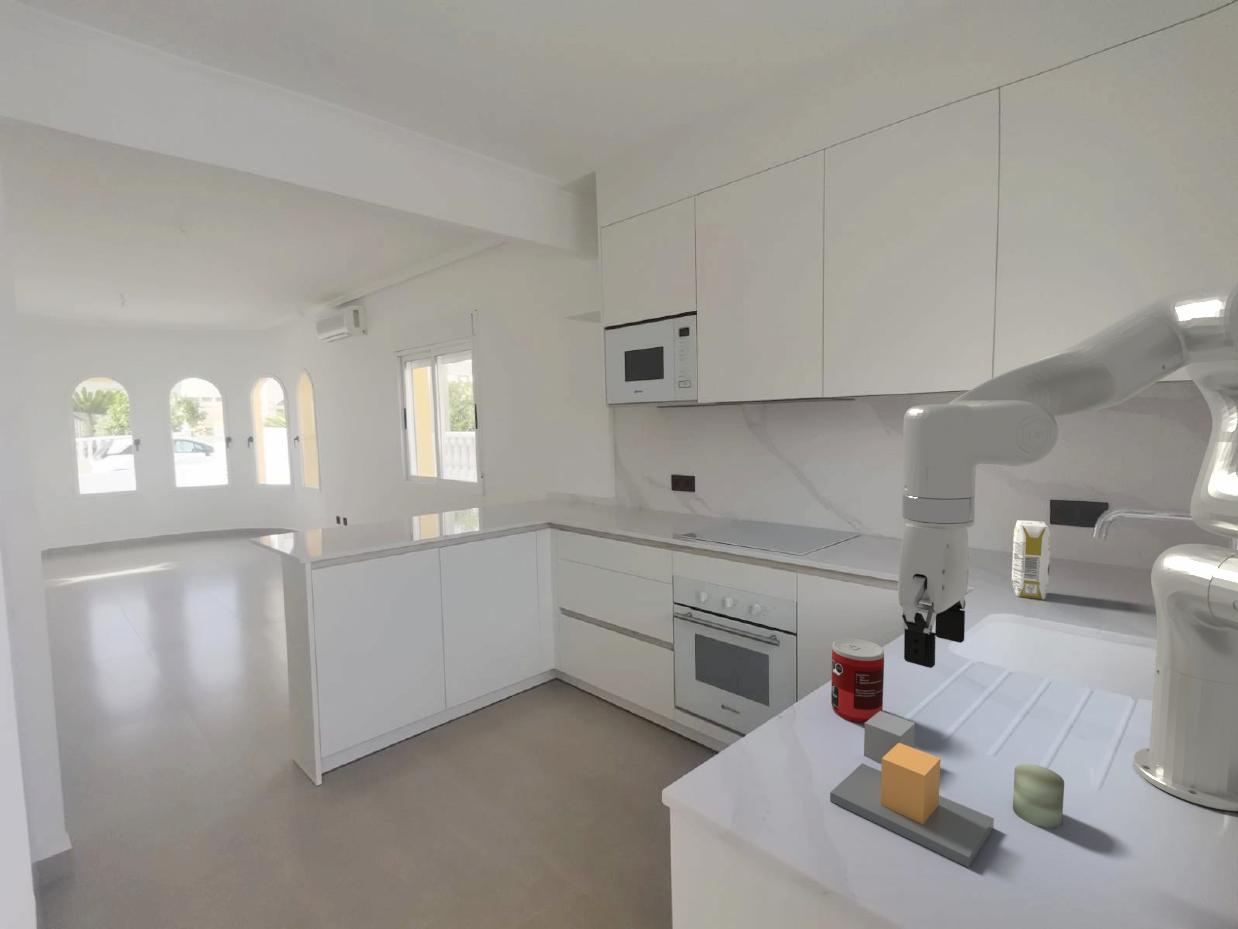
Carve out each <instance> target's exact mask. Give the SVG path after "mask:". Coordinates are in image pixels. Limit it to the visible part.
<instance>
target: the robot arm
mask: <svg viewBox="0 0 1238 929" xmlns="http://www.w3.org/2000/svg"><path fill="white" fill-rule="evenodd" d="M1184 367H1185V371H1186V374H1188V376H1189V377H1190V379H1191V380H1192V382H1193V383H1194V384H1195V385H1196V387H1197V388H1198V390H1199V391H1200V393H1201V394H1202V396H1203V398H1204V400H1205V401H1206V403H1207V406H1208V408H1209V410H1210V413H1211V419H1212V427H1211V432H1210V436H1209V439H1208V440H1209V441H1208V444H1207V447H1206V450H1205V454H1204V457H1203V460H1202V464H1201V466H1200V469H1199V474H1198V476H1197V479H1196V482H1195V485H1194V488H1193V493H1192V495H1191V501H1190V506H1189V507H1190V508H1189V512H1190V518H1191V519H1192V522H1193V523H1194V524H1195V525H1196V526H1197V527H1199V529H1201V530H1203V531H1206V532H1207V533H1208V532H1209V533H1211V534H1213V535H1217V536H1220V537H1221V536H1222V537H1224V538H1225V537H1226V538H1230V539H1235V540H1238V282H1233V283H1227V284H1222V285H1216V286H1211V287H1205V288H1201V289H1199V288H1198V289H1194V290H1188V291H1182V292H1176V293H1171V294H1168V295H1165V296H1161V297H1159V298H1156V299H1154V300H1152V301H1150V302H1148V303H1146V304H1144V305H1142V306H1141V307H1138V308H1136V310H1134V311H1132V312H1130V313H1129V314H1126V315H1125V316H1123V317H1122V318H1120V319H1118V320H1116V321H1115V322H1113V323H1111V324H1110V325H1108V326H1106V327H1105V328H1103V329H1101V330H1100V331H1098V332H1096V333H1094V334H1092V335H1091V336H1088V337H1087V338H1086V339H1083V340H1082V341H1080V342H1078V343H1076V344H1074V345H1072V346H1069V347H1067V348H1065V349H1062V350H1059V351H1056V352H1054V353H1050V354H1049V355H1047V356H1044V357H1042V358H1039V359H1037V360H1034V361H1032V362H1030V363H1027V364H1024V365H1022V366H1019V367H1017V368H1014V369H1011V370H1008V371H1007V372H1004V373H1002V374H999V375H997V376H995V377H993V378H990V379H988V380H987V381H984V382H982V383H980V384H978V385H977V386H975V387H973V388H971V389H970V390H968V391H966V392H965V393H963V394H961V395H959V396H958V397H956V398H954V399H952V400H951V401H950V402H948V403H941V404H940V403H937V404H932V403H931V404H920V405H914V406H910V408H908V409H907V410H906V412H905V413H904V416H903V424H902V426H903V431H902V435H903V436H902V440H903V442H902V507H901V508H902V513H901V515H902V516H901V518H902V519H901V521H902V523H905V524H904V527H903V532H902V538H901V545H900V553H899V566H898V582H897V603H898V604H899V606H900V607H901V608H902V615H901V617H902V620H903V624H902V625H903V626H902V628H903V629H904V630H903V631H904V636H903V637H904V638H903V640H904V641H903V644H904V645H903V650H904V651H903V653H904V654H903V658H904V661H905V662H907V663H910V664H914V665H919V666H922V667H926V668H928V669H931V668H934V667H935V665H936V637H937V638H939V639H942V640H947V641H951V642H955V643H960V644H961V643H963V642H964V641H965V624H966V622H965V621H966V610H965V609H966V599H965V596H966V594H967V592H968V585H969V539H968V538H969V537H968V536H969V535H968V528H971V527H973V526H975V516H976V515H975V513H976V512H975V509H976V472H977V471H976V470H977V468H976V467H977V465H980V464H984V465H999V466H1006V467H1024V466H1029V465H1033V464H1034V463H1037V462H1039V461H1041V460H1043V459H1044V458H1046V457H1047V456H1048V455H1049V454H1050V453H1051V452H1052V451H1053V450H1054V449H1055V446H1056V445H1057V443H1058V440H1059V434H1060V431H1059V429H1060V428H1059V425H1058V422H1057V420H1056V418H1058V417H1066V416H1071V415H1072V416H1074V415H1080V414H1086V413H1091V412H1094V411H1096V412H1097V411H1098V410H1102V409H1107V408H1110V407H1115V406H1117V405H1120V404H1123V403H1124V402H1126V401H1129V399H1131V398H1133V397H1135V396H1136V395H1138V394H1140V393H1141V392H1143V391H1144V390H1146V389H1147V388H1149V387H1151V386H1152V385H1155V384H1156V383H1157V382H1159V381H1161V380H1162V379H1164V378H1166V377H1168V376H1170V375H1172V374H1173V373H1175V372H1177V371H1178V370H1180V369H1182V368H1184ZM1150 574H1151V575H1150V580H1151V581H1150V582H1151V591H1152V596H1153V600H1154V606H1155V607H1154V608H1155V613H1156V624H1157V625H1156V631H1157V632H1156V651H1155V652H1156V653H1155V661H1154V662H1155V663H1154V679H1153V680H1154V681H1153V693H1152V708H1151V718H1150V719H1151V721H1150V733H1149V734H1150V736H1149V747H1146V748H1142V749H1139V750H1137V751H1136V752H1135V753H1134V754H1133V759H1132V761H1133V762H1132V764H1133V767H1134V769H1135V770H1136V772H1137V773H1138V774H1139V775H1140V776H1141V777H1142V778H1144V780H1146V781H1147V782H1149V783H1150V784H1151V785H1153V786H1154V787H1156V788H1159V789H1160V790H1162V791H1164V792H1166V793H1169V794H1170V795H1173V796H1174V797H1177V798H1180V799H1182V800H1185V801H1186V802H1187V801H1188V802H1191V803H1193V804H1197V805H1199V806H1203V807H1207V808H1211V809H1217V810H1222V811H1228V812H1238V549H1234V548H1229V547H1223V546H1219V545H1213V544H1212V545H1211V544H1205V543H1182V544H1177V545H1175V546H1174V545H1173V546H1171V547H1169V548H1167V549H1165V550H1164V551H1163V552H1161V553H1160V554H1159V555H1158V557H1157V558H1156V559H1155V561H1154V563H1153V565H1152V569H1151V573H1150ZM922 613H924V614H926V617H925V618H924V616H923V614H922ZM934 626H935V632H933V629H934Z"/></svg>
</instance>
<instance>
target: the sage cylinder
mask: <svg viewBox="0 0 1238 929" xmlns="http://www.w3.org/2000/svg"><path fill="white" fill-rule="evenodd" d="M1013 773H1014V776H1013V798H1012V809H1013V812H1014V814H1015V815H1016V816H1017V817H1018V818H1020V819H1021V820H1023V821H1024V822H1026V823H1029V824H1031V825H1033V826H1035V827H1039V828H1043V829H1044V828H1045V829H1056V828H1057V829H1058V828H1059V827H1060V826H1062V824H1063V815H1064V814H1063V813H1064V795H1065V780H1064V779H1063V777H1062V776H1061V775H1059V774H1058V773H1057V772H1055V771H1054V770H1051V769H1049V768H1047V767H1044V766H1041V765H1039V764H1032V763H1021V764H1018V765H1016V766H1015V767H1014V772H1013Z"/></svg>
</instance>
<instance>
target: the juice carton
mask: <svg viewBox="0 0 1238 929" xmlns="http://www.w3.org/2000/svg"><path fill="white" fill-rule="evenodd" d="M1051 535H1052V534H1051V530H1050V527H1049V526H1048V525H1047V524H1046V521H1037V520H1019V519H1018V520H1016V523H1015V526H1014V529H1013V537H1012V538H1013V543H1012V562H1011V565H1012V566H1011V583H1012V588H1013V590H1014V593H1015V594H1014V595H1016V597H1020V598H1029V599H1037V600H1045V599H1046V596H1047V593H1048V590H1049V578H1050V576H1049V575H1050V559H1051V558H1050V557H1051V542H1052V541H1051V540H1052V539H1051Z"/></svg>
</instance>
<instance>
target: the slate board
mask: <svg viewBox="0 0 1238 929" xmlns="http://www.w3.org/2000/svg"><path fill="white" fill-rule="evenodd" d="M829 793H830V794H829V795H830V796H829V799H830V800H829V801H830V802H831V803H832V804H835V805H836V806H837V805H838V806H839V807H840V808H843V809H845V810H847V811H849V812H852V813H853V814H855V815H857V816H860V817H863V818H864V819H866V820H868V821H870V822H872V823H875V824H876V825H878V826H881V827H883V828H885V829H887V830H889V831H891V832H893V833H895V834H897V835H899V836H902V837H904V838H906V839H908V840H910V841H912V842H914V843H916V844H918V845H921V846H923V847H925V848H926V849H929V850H930V851H933V852H935V853H936V854H939V855H941V856H943V857H945V858H947V859H950V860H951V861H954V862H955V863H958V864H960V865H962V866H964V867H966V868H968V869H969V868H970V866H971V865H972V863H973V862H974V860H975V858H976V857H977V855H978V854H979V851H980V850H981V849H982V847H983V846H984V844H985V842H986V840H987V839H988V837H989V836H990V834H991V833H992V831H993V830H994V828H995V827H994V826H995V825H994V823H995V817H992V816H989V815H988V814H984V813H983V812H979V811H977V810H975V809H973V808H970V807H967V806H965V805H963V804H961V803H958V802H956V801H953V800H951V799H949V798H946V797H944V796H942V795H939V805H938V806H937V808H936V809H935V810H934V811H933V813H932V814H931V815H930V816H929V818H928V819H927V820H926V821H925V823H924V824H921V823H919V822H917V821H915V820H913V819H910V818H908V817H906V816H904V815H902V814H900V813H897V812H895V811H893V810H891V809H889V808H887V807H884V806H882V805H881V770H879V769H877V768H874V767H872V766H869V765H867V764H864V763H861V764H859V765H858V766H857V767H856V768H855V769H854V770H853V771H852V772H851V773H849V775H848V776H846V777H845V778H844V779H843V780H842V781H841V782H840V783H839V784H838V785H836V787H834V788H833V789H832V790H831V791H830V792H829Z"/></svg>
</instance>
